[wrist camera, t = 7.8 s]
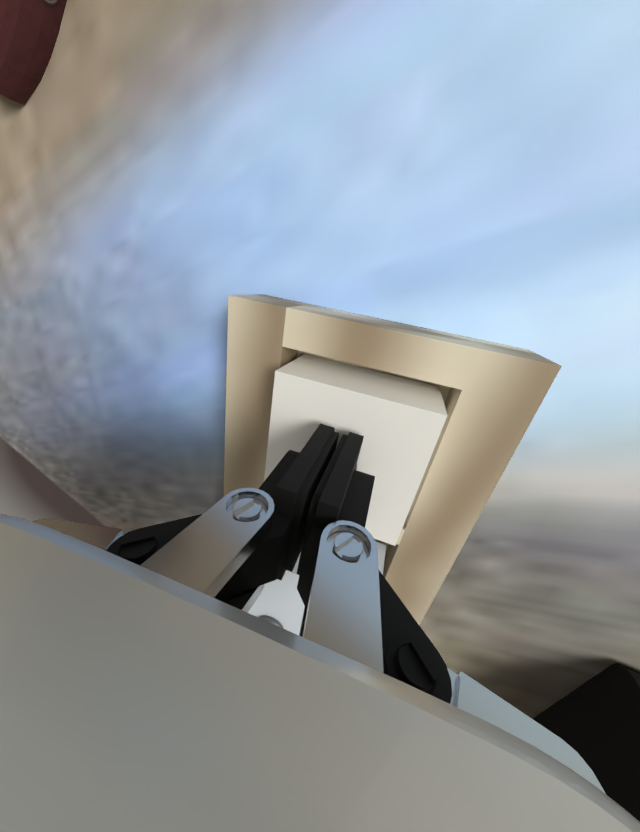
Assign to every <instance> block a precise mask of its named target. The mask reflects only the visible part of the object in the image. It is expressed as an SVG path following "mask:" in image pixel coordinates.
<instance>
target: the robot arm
mask: <svg viewBox="0 0 640 832" xmlns="http://www.w3.org/2000/svg"><path fill="white" fill-rule="evenodd" d="M334 430H335V428H334V427H331V426H327V425H324V424H320V425H319V426H318V427H317V429H316V430H315V432H314V433H313V435H312V436H311V437H310V439H309V440H308V442H307V443H306V445H305V446H304V447H303V449H302V450H301V452H300V453H299V452H296V451H293V450H289V451H288V452H287V453H286V454H285V455H284V457H283V458H282V459H281V461H280V462H279V463H278V464H277V466H276V467H275V468H274V470H273V471H272V472H271V473H270V475H269V476H268V477H267V478H266V480H265V481H264V482H263V484H262V485H261V486H260V487H259V489H256V488H240V489H237V490H234V491H232V492H230V493H228V494H227V495H226V496H224V497H223V498H222V499H221V500H219V501H218V502H217V503H216V504H215V505H213V506H212V507H211V508H210V509H208V510H207V511H206V512H205V513H203V514H201V515H196V516H192V517H188V518H183V519H179V520H175V521H171V522H166V523H162V524H158V525H153V526H149V527H145V528H140V529H137V530H134V531H131V532H128V533H126V534H123V530H122V529H117V528H110V527H104V526H97V525H91V524H84V523H78V522H72V521H65V520H59V519H42V520H36V521H29V520H26V519H22V518H18V517H14V516H9V515H5V514H0V832H640V822H639V821H638V820H637V819H636V818H635V817H633V816H632V815H631V814H630V813H629V812H627V811H626V810H625V809H624V808H622V807H621V806H620V805H619V804H617V803H616V802H615V801H614V800H612V799H611V798H610V797H609V796H607V795H606V793H605V791H604V790H603V788H602V786H601V785H600V783H599V781H598V779H597V778H596V776H595V774H594V772H593V771H592V770H591V768H590V767H589V766H588V765H587V763H586V762H585V761H584V760H583V759H582V757H581V756H580V755H579V754H578V752H577V751H575V750H574V749H573V748H572V747H571V746H570V745H568V744H567V743H566V742H565V741H564V740H562V739H561V738H560V737H558V736H557V735H555V734H554V733H552V732H551V731H549V730H548V729H546V728H545V727H543V726H542V725H540V724H539V723H537V722H536V721H535V720H533V719H532V718H530V717H529V716H527V715H526V714H524V713H523V712H521V711H520V710H518V709H517V708H515V707H514V706H512V705H511V704H509V703H508V702H506V701H505V700H503V699H502V698H500V697H499V696H497V695H496V694H494V693H493V692H491V691H490V690H488V689H487V688H485V687H484V686H482V685H481V684H479V683H478V682H477V681H475V680H474V679H472V678H471V677H469V676H468V675H466V674H465V673H463V672H462V671H461V672H460V673H459V675H457V674H456V673H454V672H453V671H451V670H450V669H448V668H447V667H446V664H445V662H444V661H443V659H442V657H441V656H440V654H439V652H438V651H437V649H436V648H435V647H434V645H433V644H432V643H431V641H430V640H429V638H428V637H427V636H426V634H425V633H424V631H423V630H422V629H421V627H420V626H419V625H418V623H417V622H416V620H415V619H414V618H413V616H412V615H411V613H410V612H409V611H408V609H407V608H406V607H405V605H404V604H403V602H402V601H401V600H400V598H399V597H398V595H397V594H396V593H395V591H394V590H393V589H392V587H391V586H390V584H389V583H388V582H387V580H386V579H385V577H384V576H383V575H382V573H381V572H380V571H379V567H378V549H377V544H376V541H375V539H374V538H373V536H372V534H371V533H370V532H369V531H368V530H367V529H366V528H365V525H366V520H367V515H368V510H369V505H370V500H371V495H372V490H373V485H374V480H375V476H373V475H370V474H367V473H363V472H360V471H357V470H355V468H356V464H357V461H358V457H359V453H360V450H361V446H362V442H363V438H364V436H362V435H359V434H355V433H352V432H349V435H345V434H343V435H342V437H341V439H340V441H339V443H338V445H337V441H338V436H339V433H338V432H334ZM336 445H337V447H336ZM300 553H301V554H300ZM299 555H300V559H299V564H298V569H297V574H298V575H299V580H298V585H297V590H298V592H299V594H300V597H301V599H302V601H303V603H304V606H305V607H304V611H303V616H302V622H301V627H300V632H299V635H297V634H294V633H292V632H290V631H288V630H285V629H283V628H281V627H278V626H276V625H274V624H272V623H269V622H267V621H265V620H263V619H260V618H258V617H256V616H254V615H251V614H249V613H248V611H249V610H250V609H251V607H252V606H253V604H254V603H255V601H256V600H257V598H258V597H259V596H260V594H261V592H262V590H263V588H264V584H266V583H269V582H272V581H274V580H276V579H278V580H282V578H283V576H284V574H285V572H286V570H288V571H290V572H292V571H293V569H294V567H295V564H296V562H297V560H298V557H299Z"/></svg>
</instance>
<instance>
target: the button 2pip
mask: <svg viewBox="0 0 640 832" xmlns="http://www.w3.org/2000/svg"><path fill="white" fill-rule="evenodd" d="M376 544H377V549H378V567H379V571H380V572H381V573H382V575H383V568H384V559H385V550H386V545H384V544H381V543H378V542H376ZM300 554H301V553H300ZM299 559H300V555H299V557H298V560H297V562H296V564H295V567H294V569H293V571H292V572H290V571H288V570H286V572H285V574H284V576H283V578H282V580H278V579H276V580H274V581H272V582H269V583H266V584H264V588H263V590H262V592H261V594H260V596H259V597H258V598H257V600H256V601H255V603H254V604H253V606H252V607H251V609H250V610H249V611H248V613H249V614H251V615H254V616H256V617H258V618H260V619H263V620H265V621H267V622H269V623H272V624H274V625H276V626H278V627H281V628H283V629H285V630H288V631H290V632H292V633H294V634H297V635H299V632H300V627H301V622H302V616H303V611H304V607H305V606H304V603H303V601H302V599H301V597H300V594H299V592H298V590H297V585H298V580H299V575H298V574H297V569H298V564H299Z"/></svg>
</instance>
